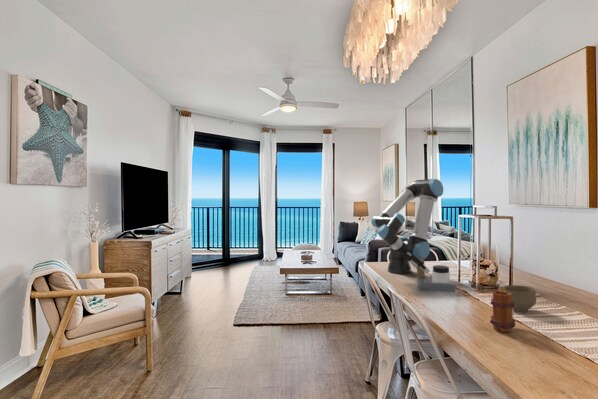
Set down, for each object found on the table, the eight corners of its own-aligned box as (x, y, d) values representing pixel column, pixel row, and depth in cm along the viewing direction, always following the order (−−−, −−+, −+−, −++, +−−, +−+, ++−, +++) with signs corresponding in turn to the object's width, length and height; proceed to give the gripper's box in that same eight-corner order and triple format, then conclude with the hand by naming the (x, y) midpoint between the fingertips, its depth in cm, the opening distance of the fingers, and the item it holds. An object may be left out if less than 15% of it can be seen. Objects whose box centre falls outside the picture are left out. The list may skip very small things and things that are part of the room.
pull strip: (416, 278, 204) (416, 258, 204) (447, 279, 200) (446, 259, 200) (419, 290, 179) (419, 267, 179) (455, 292, 175) (454, 269, 174)
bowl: (506, 303, 156) (506, 282, 155) (539, 309, 146) (539, 287, 146) (498, 310, 147) (498, 287, 147) (533, 317, 138) (532, 293, 138)
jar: (445, 291, 176) (445, 269, 176) (430, 288, 182) (430, 267, 182) (452, 288, 182) (451, 266, 182) (437, 285, 188) (436, 264, 188)
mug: (515, 336, 120) (515, 295, 119) (489, 332, 124) (489, 292, 124) (515, 323, 132) (514, 285, 132) (491, 319, 136) (490, 283, 136)
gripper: (387, 247, 213) (410, 269, 214) (402, 254, 188) (428, 279, 189) (395, 238, 213) (418, 261, 214) (411, 244, 188) (437, 269, 190)
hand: (423, 269), depth 202 cm, fingers open, 13 cm apart
